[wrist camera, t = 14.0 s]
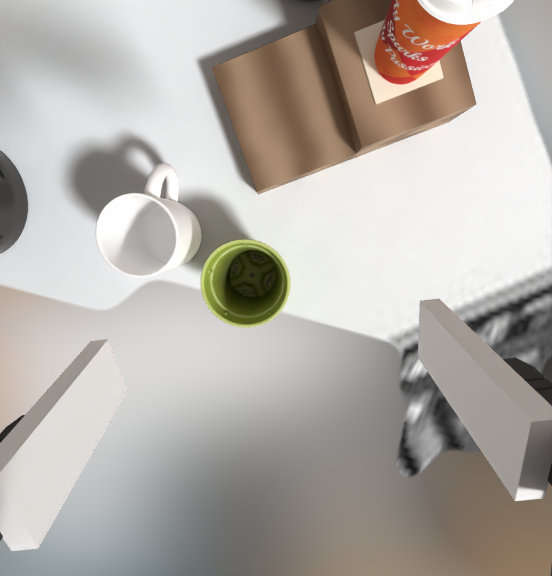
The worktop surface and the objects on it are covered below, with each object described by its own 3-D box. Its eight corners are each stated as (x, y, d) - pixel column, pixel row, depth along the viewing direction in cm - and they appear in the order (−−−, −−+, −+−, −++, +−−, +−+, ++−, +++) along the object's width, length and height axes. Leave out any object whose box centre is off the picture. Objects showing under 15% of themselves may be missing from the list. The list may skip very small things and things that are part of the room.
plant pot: (227, 227, 44) (213, 227, 35) (298, 249, 44) (301, 255, 36) (208, 296, 46) (190, 312, 37) (277, 317, 46) (275, 338, 37)
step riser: (258, 194, 43) (254, 188, 37) (217, 78, 41) (205, 52, 35) (449, 121, 41) (477, 103, 35) (415, -4, 39) (439, -47, 33)
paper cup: (346, 58, 35) (387, -53, 21) (402, -8, 34) (483, -172, 20) (402, 114, 35) (477, 42, 22) (459, 51, 34) (575, -67, 20)
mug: (150, 163, 43) (108, 143, 33) (215, 180, 43) (193, 165, 33) (133, 257, 45) (89, 266, 35) (195, 273, 45) (169, 286, 35)
